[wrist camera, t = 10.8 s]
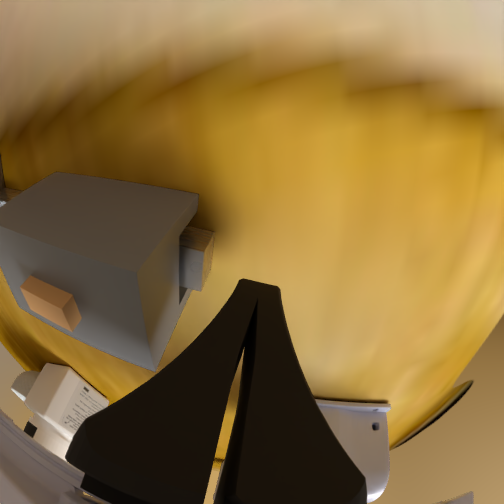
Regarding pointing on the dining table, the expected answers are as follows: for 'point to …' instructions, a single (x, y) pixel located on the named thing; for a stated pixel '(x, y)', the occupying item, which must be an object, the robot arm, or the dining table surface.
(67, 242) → the block
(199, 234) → the rail
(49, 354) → the dining table surface
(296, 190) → the dining table surface
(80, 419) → the container
